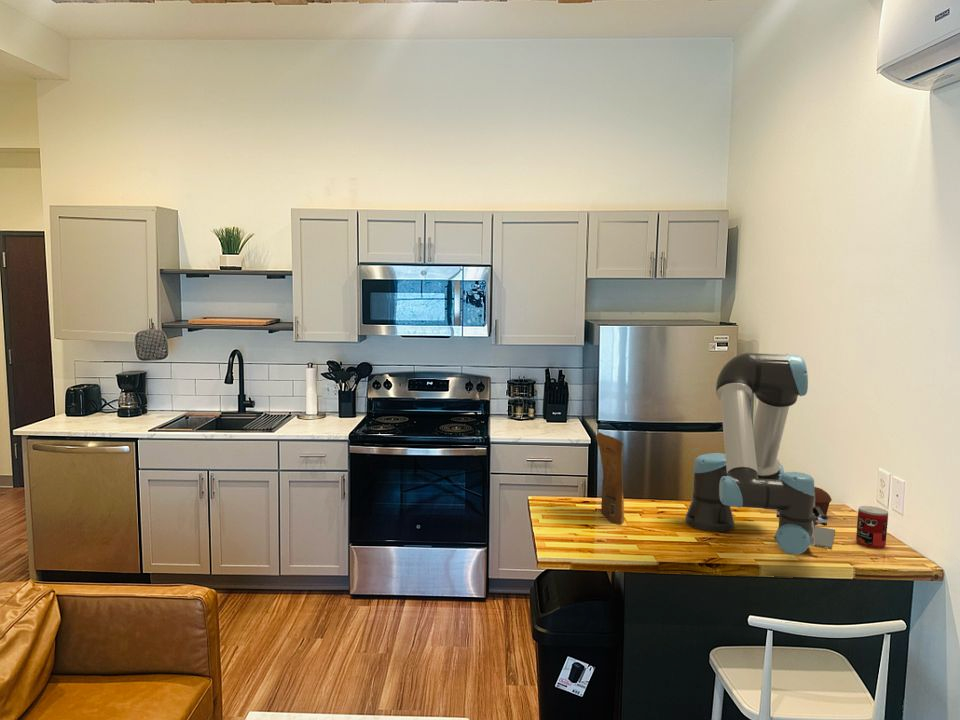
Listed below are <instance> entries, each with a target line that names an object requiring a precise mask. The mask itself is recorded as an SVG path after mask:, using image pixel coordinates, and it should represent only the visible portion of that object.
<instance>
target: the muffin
mask: <svg viewBox="0 0 960 720" xmlns="http://www.w3.org/2000/svg"><path fill="white" fill-rule="evenodd" d="M814 491H815V506H819V507H820V509H821V510H822V512H823V514H824V515H826V516H828V515H827V514H828V509H829V508H830V507H829V506H830V503H831V502H832V501H833V500H832V497H831V495H830V494H829V493H828V492H827V491H826V490H824V489H822V488H820V487H817V486H814Z"/></svg>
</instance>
